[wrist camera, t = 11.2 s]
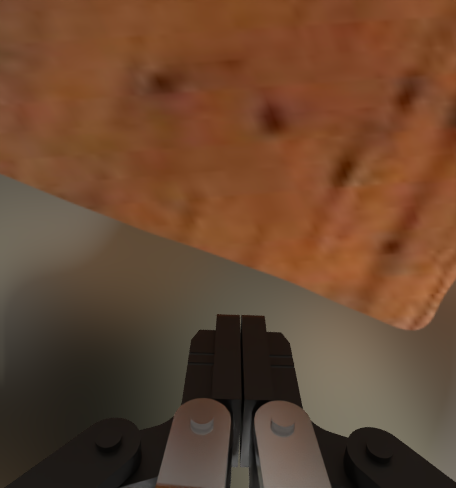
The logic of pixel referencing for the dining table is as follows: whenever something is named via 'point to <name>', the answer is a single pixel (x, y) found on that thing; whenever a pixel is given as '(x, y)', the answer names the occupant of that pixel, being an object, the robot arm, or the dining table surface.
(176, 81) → the dining table surface
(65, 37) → the dining table surface
